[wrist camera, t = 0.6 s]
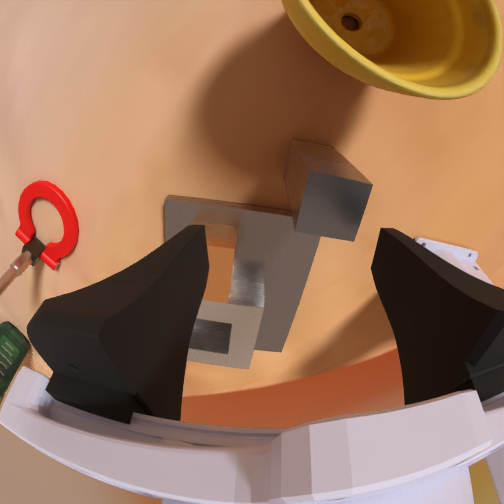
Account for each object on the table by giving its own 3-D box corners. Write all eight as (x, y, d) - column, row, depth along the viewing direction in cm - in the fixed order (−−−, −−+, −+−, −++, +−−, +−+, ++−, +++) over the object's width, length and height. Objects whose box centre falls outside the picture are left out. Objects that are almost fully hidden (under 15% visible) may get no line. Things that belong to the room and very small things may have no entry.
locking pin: (333, 147, 18) (372, 184, 11) (323, 185, 19) (353, 241, 13) (291, 138, 18) (309, 170, 11) (284, 178, 19) (294, 231, 13)
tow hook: (37, 162, 19) (16, 226, 22) (-61, 225, 8) (-53, 295, 12) (93, 213, 22) (64, 270, 26) (7, 306, 11) (5, 355, 15)
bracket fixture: (322, 216, 21) (332, 243, 17) (281, 345, 30) (281, 374, 26) (162, 194, 20) (143, 216, 17) (170, 329, 29) (161, 358, 26)
